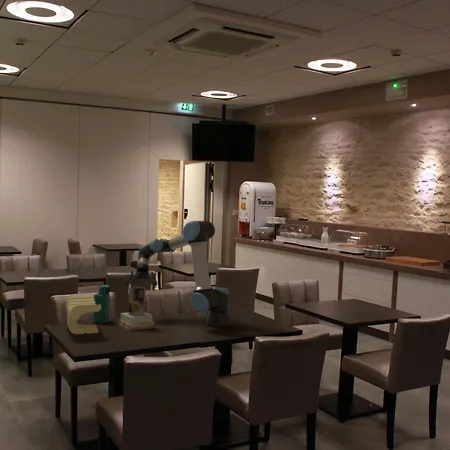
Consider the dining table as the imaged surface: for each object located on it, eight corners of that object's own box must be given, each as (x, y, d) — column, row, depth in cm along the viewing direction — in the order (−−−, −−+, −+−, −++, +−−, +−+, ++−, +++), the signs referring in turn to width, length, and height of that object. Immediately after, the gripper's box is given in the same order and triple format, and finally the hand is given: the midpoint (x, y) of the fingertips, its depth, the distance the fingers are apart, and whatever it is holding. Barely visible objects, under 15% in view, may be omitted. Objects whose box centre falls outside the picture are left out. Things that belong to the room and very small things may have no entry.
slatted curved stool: (65, 325, 325) (66, 296, 324) (93, 324, 331) (93, 295, 330) (70, 338, 297) (71, 305, 296) (100, 336, 303) (101, 304, 302)
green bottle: (103, 323, 333) (104, 287, 332) (91, 322, 336) (92, 286, 335) (112, 320, 343) (112, 285, 342) (100, 319, 345) (100, 284, 344)
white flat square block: (152, 321, 327) (152, 315, 327) (131, 324, 319) (131, 317, 319) (141, 317, 338) (141, 310, 338) (120, 319, 330) (120, 313, 330)
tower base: (154, 329, 326) (154, 322, 326) (129, 331, 317) (129, 325, 317) (143, 323, 340) (143, 317, 339) (118, 326, 331) (119, 319, 331)
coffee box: (145, 313, 332) (146, 286, 331) (143, 315, 325) (144, 288, 325) (130, 312, 332) (131, 286, 331) (128, 314, 326) (129, 287, 325)
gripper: (162, 270, 356) (160, 297, 342) (124, 269, 355) (120, 297, 341) (162, 263, 350) (160, 290, 336) (122, 262, 349) (119, 290, 335)
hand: (140, 294), depth 338 cm, fingers open, 13 cm apart
